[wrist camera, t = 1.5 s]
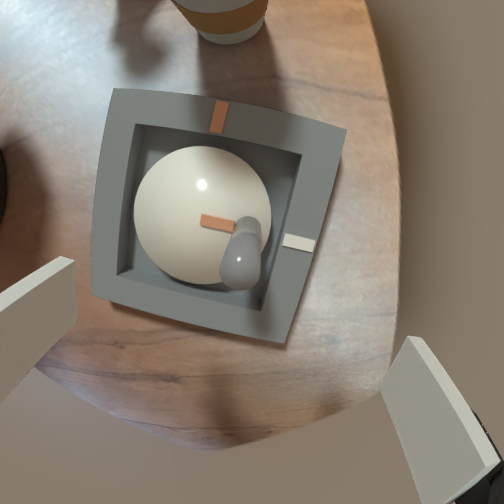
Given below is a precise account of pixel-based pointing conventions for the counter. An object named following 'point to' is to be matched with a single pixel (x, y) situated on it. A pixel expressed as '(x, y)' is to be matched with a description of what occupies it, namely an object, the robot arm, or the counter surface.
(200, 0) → the coffee cup
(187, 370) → the counter surface
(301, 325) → the counter surface
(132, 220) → the dial board
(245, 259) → the dial
